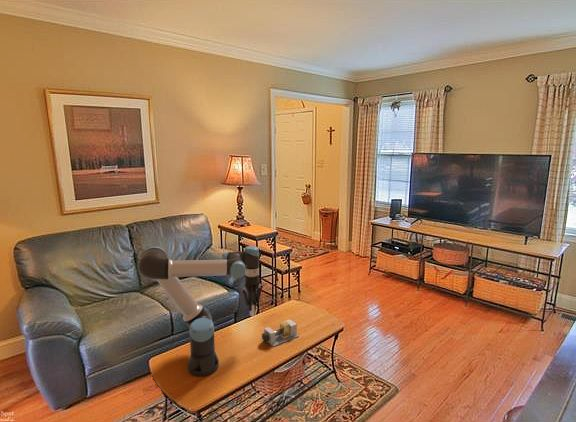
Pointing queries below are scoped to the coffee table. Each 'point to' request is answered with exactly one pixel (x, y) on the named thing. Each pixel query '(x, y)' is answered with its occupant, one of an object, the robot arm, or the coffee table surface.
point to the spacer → (285, 328)
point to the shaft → (266, 336)
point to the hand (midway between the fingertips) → (252, 315)
